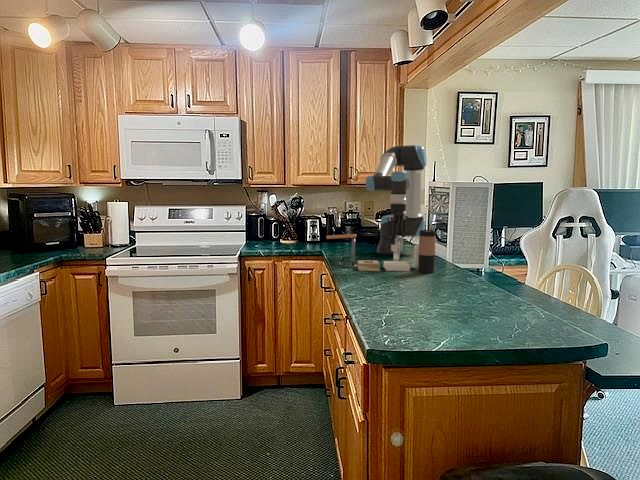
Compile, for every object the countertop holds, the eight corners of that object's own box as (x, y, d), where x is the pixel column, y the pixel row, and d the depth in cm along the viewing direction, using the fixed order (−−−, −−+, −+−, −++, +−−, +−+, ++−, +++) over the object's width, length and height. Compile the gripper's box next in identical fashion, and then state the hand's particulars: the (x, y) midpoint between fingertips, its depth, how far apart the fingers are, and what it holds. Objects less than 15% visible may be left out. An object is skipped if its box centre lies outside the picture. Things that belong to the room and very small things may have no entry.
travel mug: (415, 272, 226) (417, 230, 223) (420, 270, 232) (421, 229, 230) (431, 274, 222) (433, 231, 220) (436, 271, 229) (437, 230, 226)
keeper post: (348, 265, 243) (349, 237, 241) (356, 265, 243) (357, 237, 241) (349, 267, 239) (349, 238, 237) (357, 267, 239) (357, 238, 237)
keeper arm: (354, 236, 241) (354, 233, 241) (357, 237, 239) (357, 234, 239) (325, 238, 232) (325, 235, 232) (328, 239, 229) (328, 236, 229)
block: (357, 267, 239) (357, 260, 238) (377, 267, 239) (377, 260, 239) (358, 270, 229) (359, 263, 229) (379, 271, 229) (379, 263, 229)
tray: (383, 266, 241) (383, 261, 240) (405, 267, 241) (405, 261, 240) (386, 270, 229) (386, 264, 229) (409, 271, 229) (409, 265, 229)
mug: (421, 270, 232) (422, 247, 231) (409, 267, 240) (410, 245, 238) (439, 268, 238) (440, 246, 237) (427, 265, 246) (428, 244, 245)
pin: (391, 259, 237) (392, 235, 235) (400, 259, 237) (401, 235, 235) (392, 260, 232) (393, 236, 231) (401, 260, 232) (402, 236, 231)
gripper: (393, 203, 222) (392, 253, 225) (414, 203, 235) (413, 250, 237) (381, 203, 228) (379, 251, 230) (402, 202, 240) (400, 248, 243)
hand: (396, 250), depth 234 cm, fingers closed on pin, 4 cm apart
